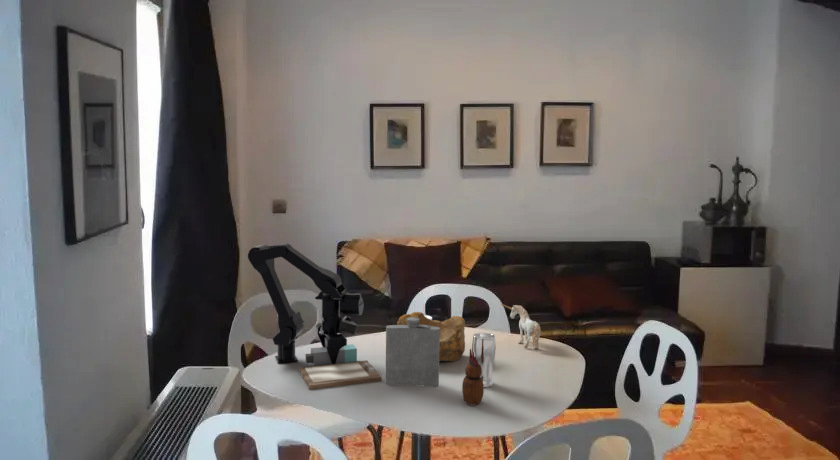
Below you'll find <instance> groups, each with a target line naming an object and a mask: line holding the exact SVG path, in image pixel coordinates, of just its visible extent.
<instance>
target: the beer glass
mask: <svg viewBox="0 0 840 460" xmlns="http://www.w3.org/2000/svg"><path fill="white" fill-rule="evenodd" d="M496 348H497V347H496V335H495V334H494V333H491V332H476V333H473V335H472V346H471V351H472V354H473V352H474V357H476V360H477V361H478V364H480V365H481V368H482V374H481V376H480V378H481V379H482V381H483V385H484V387H486V388H490V387H489V386H491V387H492V386H493V384H494V381H493V367H494V363H495V358H496V351H497V350H496Z"/></svg>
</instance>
